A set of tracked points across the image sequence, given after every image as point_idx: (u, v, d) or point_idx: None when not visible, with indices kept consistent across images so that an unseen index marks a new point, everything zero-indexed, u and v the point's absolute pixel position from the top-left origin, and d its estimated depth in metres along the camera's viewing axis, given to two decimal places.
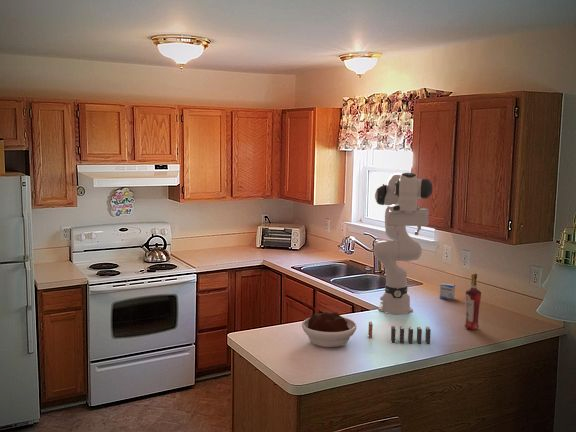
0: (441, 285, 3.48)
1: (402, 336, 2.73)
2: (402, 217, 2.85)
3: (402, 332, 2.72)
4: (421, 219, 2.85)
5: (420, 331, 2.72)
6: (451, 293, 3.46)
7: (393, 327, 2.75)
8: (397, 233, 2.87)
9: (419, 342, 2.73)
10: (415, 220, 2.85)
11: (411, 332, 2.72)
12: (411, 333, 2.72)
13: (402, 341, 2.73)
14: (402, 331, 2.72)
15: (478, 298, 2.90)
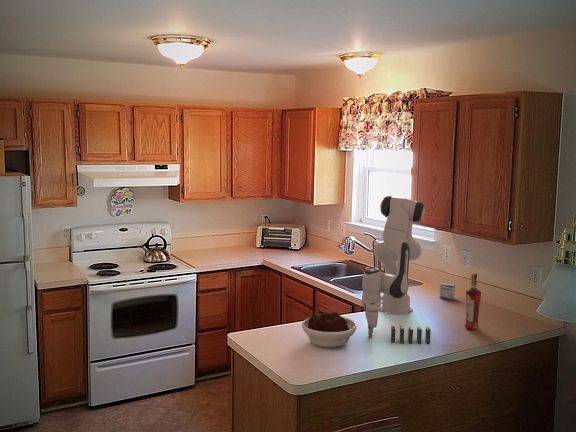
0: (441, 285, 3.48)
1: (402, 336, 2.73)
2: None
3: (402, 332, 2.72)
4: None
5: (420, 331, 2.72)
6: (451, 293, 3.46)
7: (393, 327, 2.75)
8: (372, 331, 2.78)
9: (419, 342, 2.73)
10: None
11: (411, 332, 2.72)
12: (411, 333, 2.72)
13: (402, 341, 2.73)
14: (402, 331, 2.72)
15: (478, 298, 2.90)
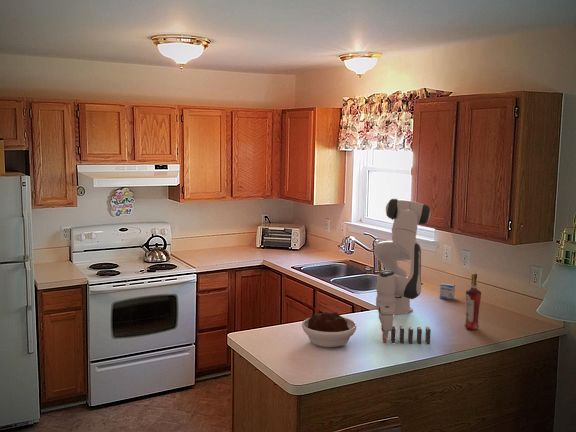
0: (441, 285, 3.48)
1: (402, 336, 2.73)
2: None
3: (402, 332, 2.72)
4: None
5: (420, 331, 2.72)
6: (451, 293, 3.46)
7: (393, 327, 2.75)
8: (387, 336, 2.71)
9: (419, 342, 2.73)
10: None
11: (411, 332, 2.72)
12: (411, 333, 2.72)
13: (402, 341, 2.73)
14: (402, 331, 2.72)
15: (478, 298, 2.90)
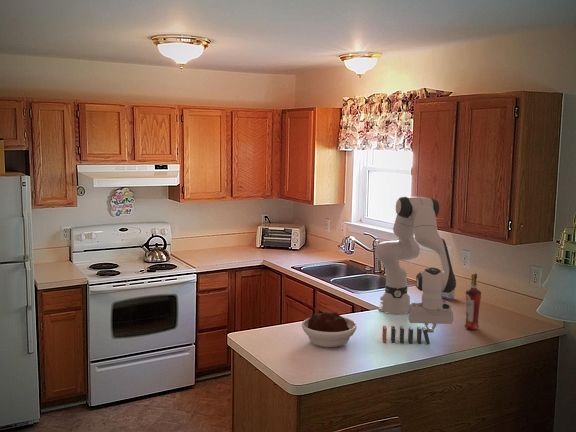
0: None
1: (402, 336, 2.73)
2: None
3: (402, 332, 2.72)
4: None
5: (420, 331, 2.72)
6: (451, 293, 3.46)
7: (393, 327, 2.75)
8: None
9: (419, 342, 2.73)
10: None
11: (411, 332, 2.72)
12: (411, 333, 2.72)
13: (402, 341, 2.73)
14: (402, 331, 2.72)
15: (478, 298, 2.90)
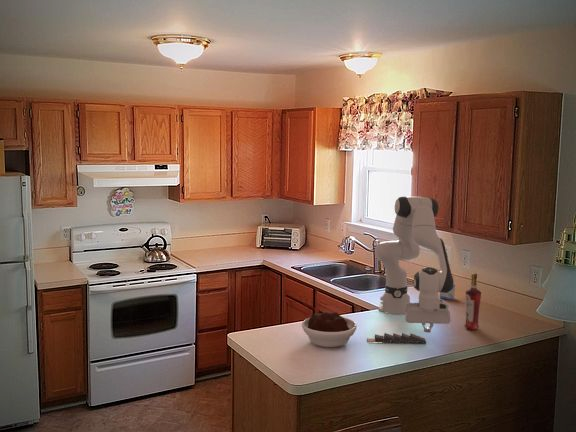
0: None
1: (392, 339, 2.73)
2: None
3: (388, 338, 2.73)
4: None
5: (405, 337, 2.73)
6: (451, 293, 3.46)
7: (375, 337, 2.75)
8: None
9: (415, 342, 2.73)
10: None
11: (397, 338, 2.73)
12: (398, 338, 2.73)
13: (397, 341, 2.73)
14: (387, 338, 2.73)
15: (478, 298, 2.90)
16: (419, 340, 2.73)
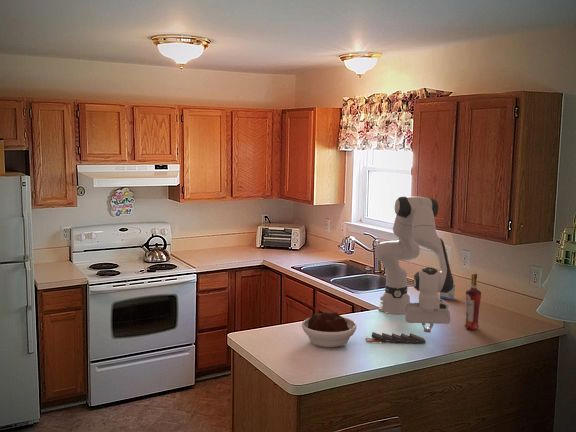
0: None
1: (389, 339, 2.74)
2: None
3: (385, 338, 2.74)
4: None
5: (404, 337, 2.73)
6: (451, 293, 3.46)
7: (372, 334, 2.77)
8: None
9: (414, 342, 2.73)
10: None
11: (396, 338, 2.73)
12: (397, 338, 2.73)
13: (394, 341, 2.73)
14: (384, 338, 2.74)
15: (478, 298, 2.90)
16: (418, 340, 2.73)
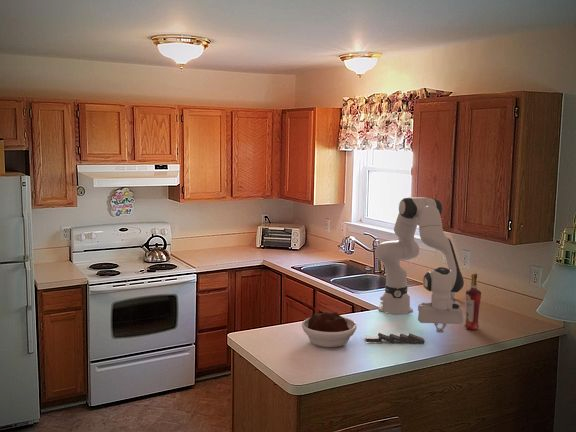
0: None
1: (387, 339, 2.73)
2: None
3: (383, 338, 2.72)
4: None
5: (403, 338, 2.73)
6: (451, 293, 3.46)
7: (366, 338, 2.76)
8: None
9: (413, 342, 2.73)
10: None
11: (394, 338, 2.73)
12: (395, 339, 2.73)
13: (392, 341, 2.73)
14: (382, 338, 2.72)
15: (478, 298, 2.90)
16: (417, 340, 2.73)
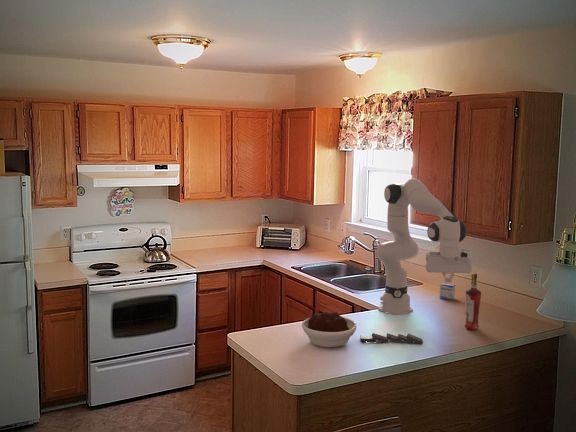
0: (441, 285, 3.48)
1: (381, 339, 2.73)
2: None
3: (377, 339, 2.73)
4: None
5: (400, 338, 2.73)
6: (451, 293, 3.46)
7: (360, 338, 2.76)
8: None
9: (411, 342, 2.73)
10: None
11: (390, 338, 2.74)
12: (391, 338, 2.74)
13: (386, 341, 2.74)
14: (376, 338, 2.73)
15: (478, 298, 2.90)
16: (415, 340, 2.72)
